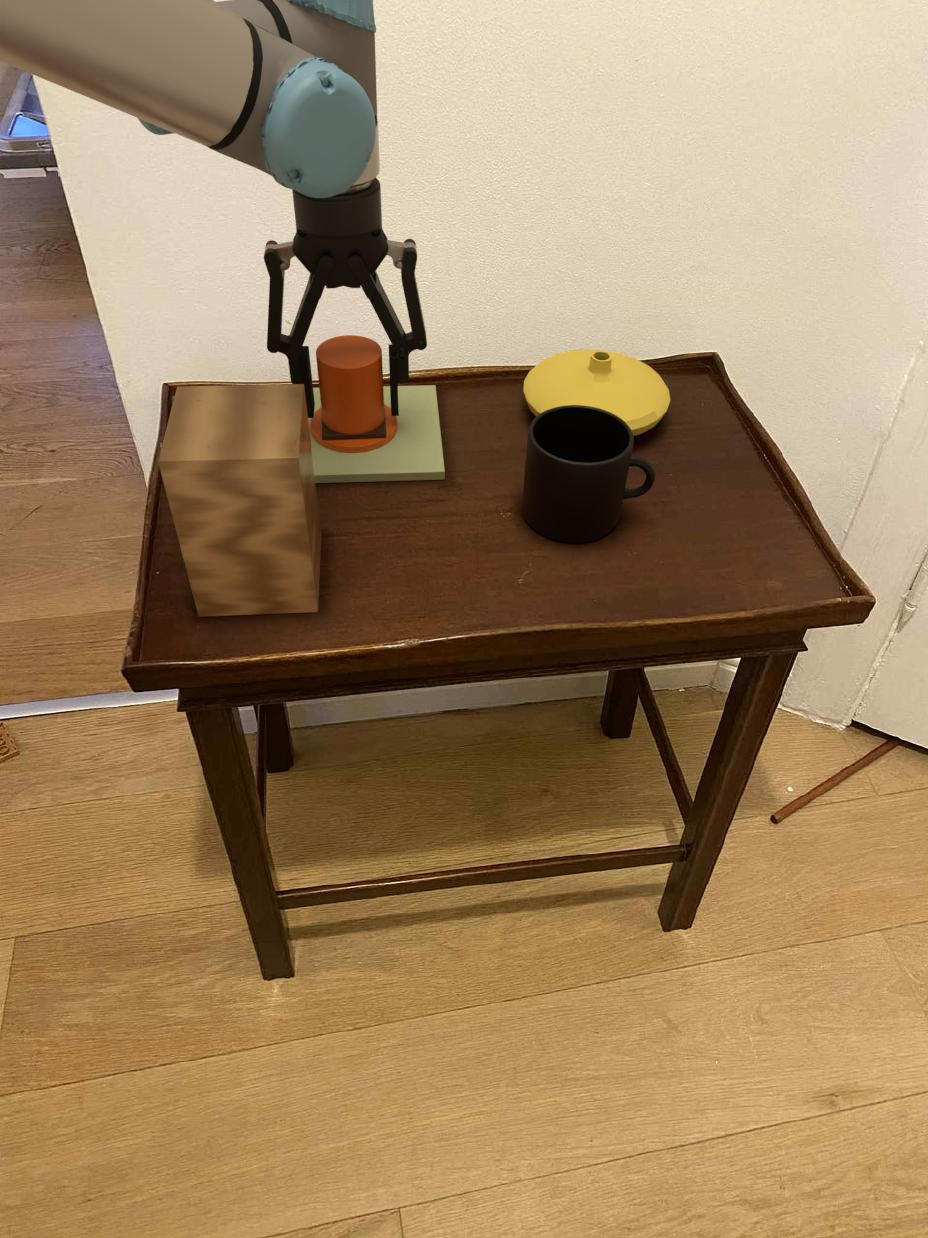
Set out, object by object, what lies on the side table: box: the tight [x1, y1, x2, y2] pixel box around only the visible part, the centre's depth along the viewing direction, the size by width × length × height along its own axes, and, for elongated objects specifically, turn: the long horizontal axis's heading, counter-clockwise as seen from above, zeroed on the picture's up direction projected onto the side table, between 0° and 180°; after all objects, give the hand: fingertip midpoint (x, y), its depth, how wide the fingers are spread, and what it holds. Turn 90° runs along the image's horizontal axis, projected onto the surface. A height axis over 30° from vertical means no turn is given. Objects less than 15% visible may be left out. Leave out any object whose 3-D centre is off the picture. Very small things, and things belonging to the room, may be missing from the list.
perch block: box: [157, 383, 322, 618], centre depth 75 cm, size 10×10×16 cm
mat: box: [308, 384, 446, 484], centre depth 95 cm, size 18×16×1 cm
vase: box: [522, 348, 671, 437], centre depth 97 cm, size 16×16×7 cm
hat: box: [310, 334, 398, 453], centre depth 92 cm, size 9×9×9 cm
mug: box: [521, 405, 656, 543], centre depth 85 cm, size 9×12×9 cm
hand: (352, 409), depth 94 cm, fingers open, 8 cm apart
